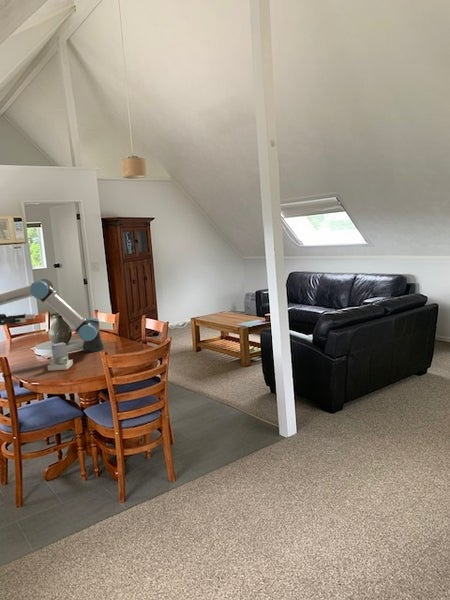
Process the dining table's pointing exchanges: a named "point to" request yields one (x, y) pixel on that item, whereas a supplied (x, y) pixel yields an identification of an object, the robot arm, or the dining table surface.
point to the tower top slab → (59, 361)
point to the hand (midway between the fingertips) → (30, 318)
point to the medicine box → (59, 350)
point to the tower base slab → (60, 366)
